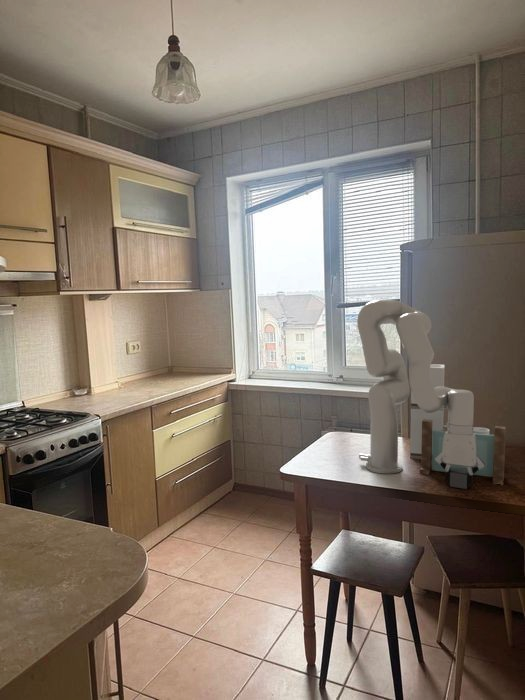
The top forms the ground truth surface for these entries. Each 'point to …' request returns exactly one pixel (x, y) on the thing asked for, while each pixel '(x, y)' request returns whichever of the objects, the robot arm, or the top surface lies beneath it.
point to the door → (483, 451)
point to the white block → (425, 414)
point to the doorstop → (458, 478)
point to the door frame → (498, 451)
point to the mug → (480, 430)
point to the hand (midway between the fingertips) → (458, 483)
